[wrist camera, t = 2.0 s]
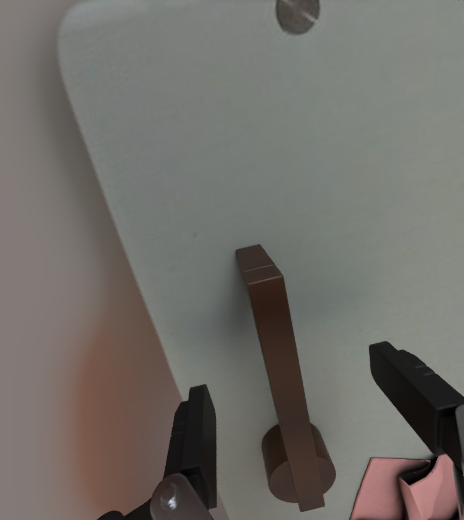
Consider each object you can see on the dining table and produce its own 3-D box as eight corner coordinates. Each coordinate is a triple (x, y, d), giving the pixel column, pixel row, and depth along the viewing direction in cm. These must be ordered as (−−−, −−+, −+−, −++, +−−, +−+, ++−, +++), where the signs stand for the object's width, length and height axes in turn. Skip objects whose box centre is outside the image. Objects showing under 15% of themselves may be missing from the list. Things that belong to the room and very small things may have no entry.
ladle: (208, 256, 16) (205, 294, 10) (287, 236, 16) (324, 264, 10) (267, 470, 22) (284, 559, 17) (324, 456, 22) (358, 541, 17)
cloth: (317, 559, 27) (327, 594, 25) (398, 404, 21) (421, 432, 18) (475, 563, 30) (498, 595, 27) (588, 427, 23) (629, 454, 21)
